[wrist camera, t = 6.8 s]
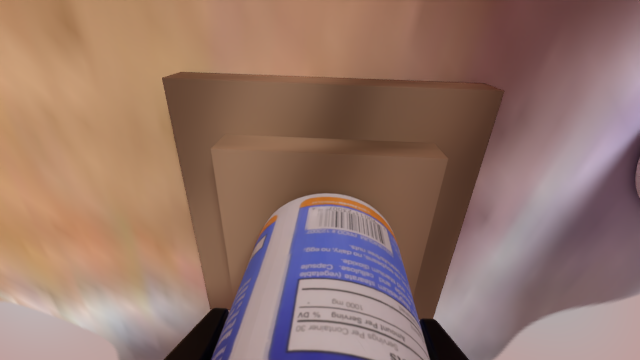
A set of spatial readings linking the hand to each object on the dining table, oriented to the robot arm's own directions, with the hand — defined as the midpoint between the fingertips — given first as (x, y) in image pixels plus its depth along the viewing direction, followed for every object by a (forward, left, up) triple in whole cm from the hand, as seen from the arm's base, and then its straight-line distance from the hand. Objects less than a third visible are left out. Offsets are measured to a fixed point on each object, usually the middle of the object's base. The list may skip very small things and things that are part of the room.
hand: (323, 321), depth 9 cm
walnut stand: (0, 0, -6) cm, 6 cm away
